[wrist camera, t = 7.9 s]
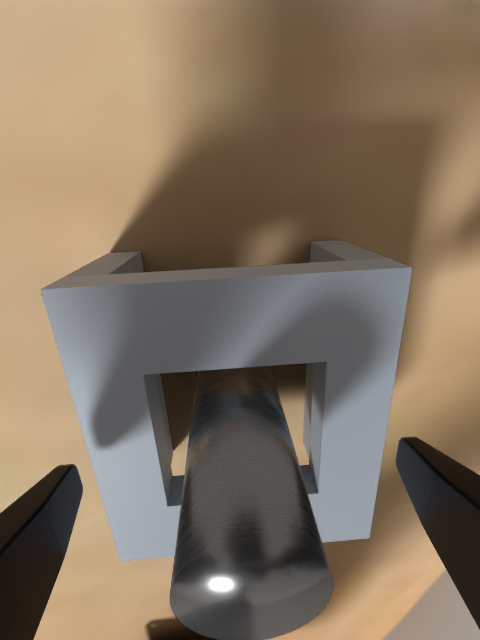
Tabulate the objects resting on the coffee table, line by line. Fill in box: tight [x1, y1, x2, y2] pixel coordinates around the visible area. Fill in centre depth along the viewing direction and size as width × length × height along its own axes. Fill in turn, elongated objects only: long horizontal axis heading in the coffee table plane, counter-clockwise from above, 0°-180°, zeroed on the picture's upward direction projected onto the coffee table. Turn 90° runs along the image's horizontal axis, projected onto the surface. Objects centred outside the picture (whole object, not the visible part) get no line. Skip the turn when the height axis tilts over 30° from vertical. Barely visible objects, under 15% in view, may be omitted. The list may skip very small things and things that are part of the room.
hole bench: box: [41, 240, 413, 561], centre depth 12 cm, size 10×9×5 cm
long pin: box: [170, 366, 333, 640], centre depth 10 cm, size 3×3×9 cm
